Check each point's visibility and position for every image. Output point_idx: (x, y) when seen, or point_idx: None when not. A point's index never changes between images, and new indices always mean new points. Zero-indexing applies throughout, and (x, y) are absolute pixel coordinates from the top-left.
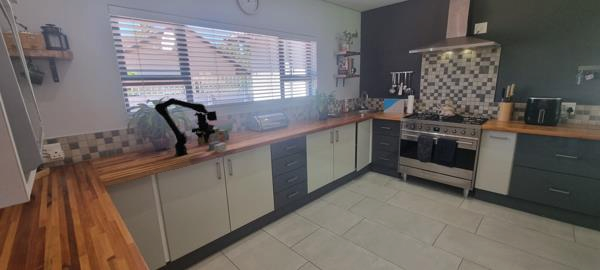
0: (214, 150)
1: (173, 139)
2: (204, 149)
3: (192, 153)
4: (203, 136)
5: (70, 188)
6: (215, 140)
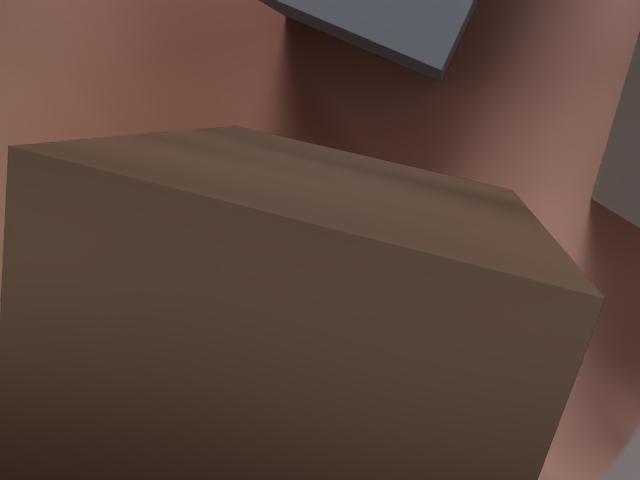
0: (608, 204)
1: None
2: (181, 57)
3: None
4: (5, 422)
5: None
6: None
